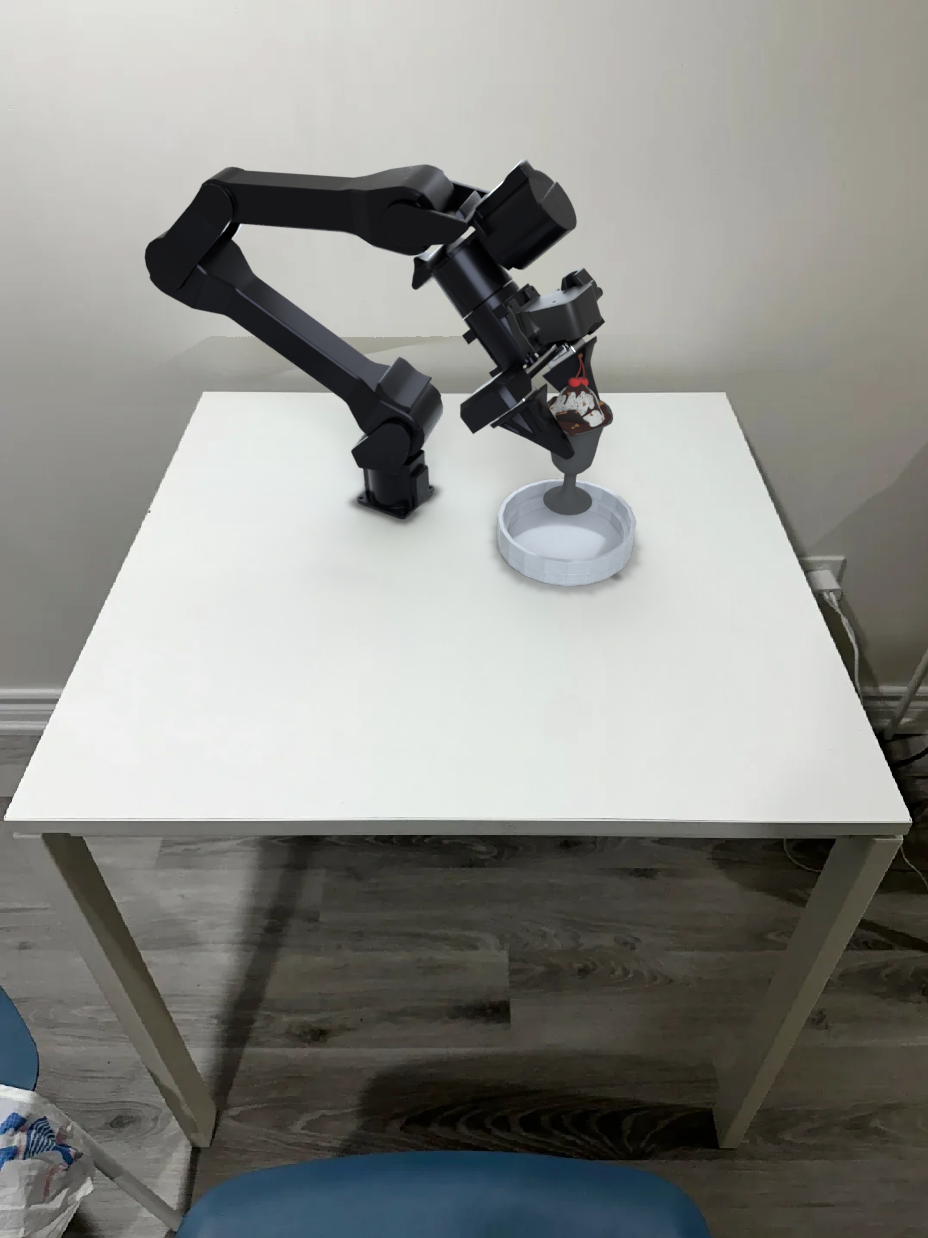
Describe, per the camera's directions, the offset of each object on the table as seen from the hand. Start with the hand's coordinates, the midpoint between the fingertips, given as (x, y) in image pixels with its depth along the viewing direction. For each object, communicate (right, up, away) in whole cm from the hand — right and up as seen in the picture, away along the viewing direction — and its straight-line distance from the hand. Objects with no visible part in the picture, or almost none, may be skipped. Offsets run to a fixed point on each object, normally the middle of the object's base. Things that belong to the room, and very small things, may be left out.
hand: (586, 440), depth 84 cm
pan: (-1, -9, +10) cm, 13 cm away
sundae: (-1, -5, +6) cm, 8 cm away
